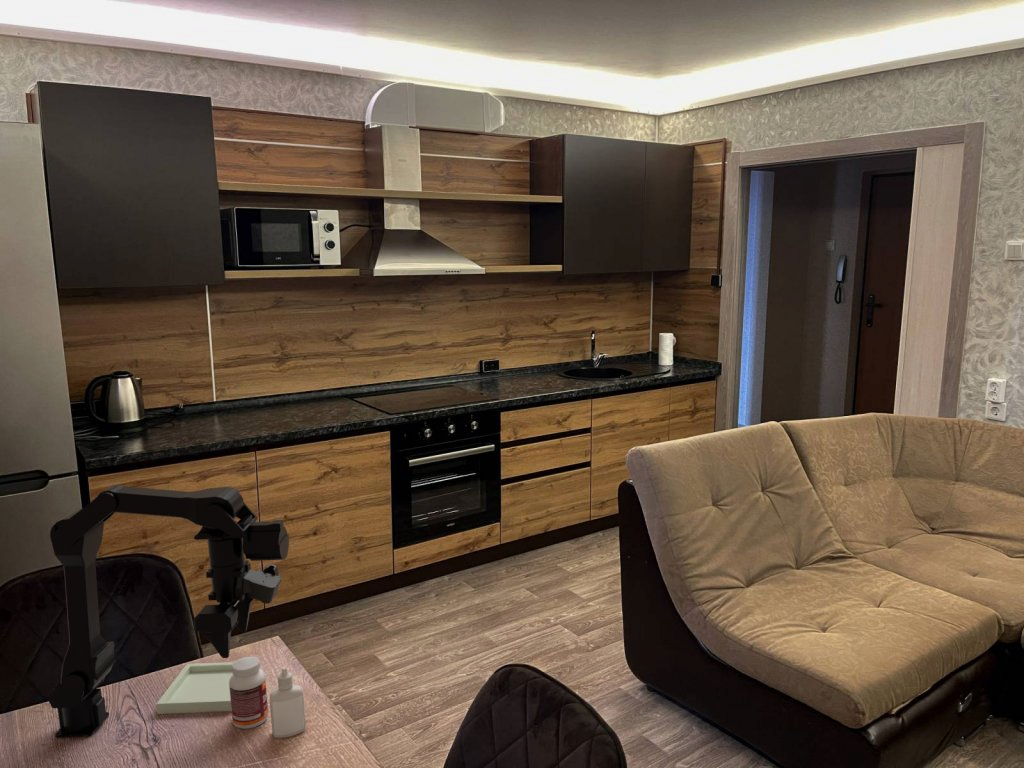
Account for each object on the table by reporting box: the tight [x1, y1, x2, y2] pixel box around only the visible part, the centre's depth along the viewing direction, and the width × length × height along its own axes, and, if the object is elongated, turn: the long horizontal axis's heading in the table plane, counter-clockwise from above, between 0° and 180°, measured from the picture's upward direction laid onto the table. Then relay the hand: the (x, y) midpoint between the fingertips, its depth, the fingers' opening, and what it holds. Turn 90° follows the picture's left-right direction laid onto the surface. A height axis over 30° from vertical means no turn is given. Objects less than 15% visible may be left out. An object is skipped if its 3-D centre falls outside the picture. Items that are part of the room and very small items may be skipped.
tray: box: [156, 661, 235, 715], centre depth 144 cm, size 14×14×2 cm
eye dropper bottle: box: [269, 666, 307, 739], centre depth 130 cm, size 4×6×12 cm
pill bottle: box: [229, 656, 269, 730], centre depth 134 cm, size 6×6×11 cm
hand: (234, 644), depth 133 cm, fingers open, 9 cm apart
